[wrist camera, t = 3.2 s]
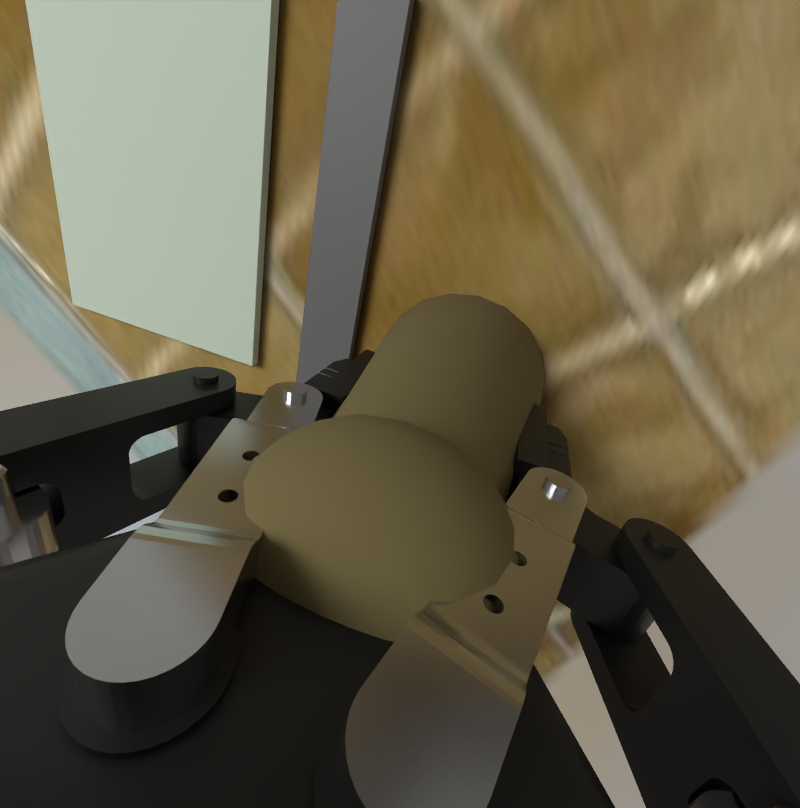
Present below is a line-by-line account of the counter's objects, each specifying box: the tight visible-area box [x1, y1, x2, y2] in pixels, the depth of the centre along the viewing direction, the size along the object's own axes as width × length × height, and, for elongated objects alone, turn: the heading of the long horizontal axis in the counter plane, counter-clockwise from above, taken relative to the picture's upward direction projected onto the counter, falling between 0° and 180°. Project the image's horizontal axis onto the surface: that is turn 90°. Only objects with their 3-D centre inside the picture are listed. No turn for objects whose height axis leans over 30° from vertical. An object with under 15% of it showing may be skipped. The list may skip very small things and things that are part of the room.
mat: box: [25, 0, 279, 366], centre depth 15 cm, size 12×9×1 cm
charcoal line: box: [296, 0, 415, 384], centre depth 15 cm, size 16×2×1 cm, turn 167°
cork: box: [231, 294, 546, 642], centre depth 10 cm, size 6×6×11 cm
